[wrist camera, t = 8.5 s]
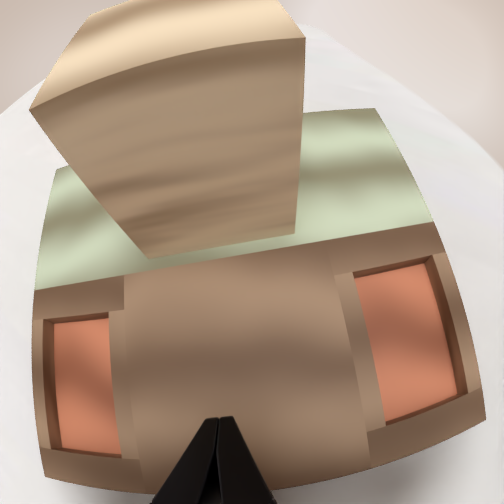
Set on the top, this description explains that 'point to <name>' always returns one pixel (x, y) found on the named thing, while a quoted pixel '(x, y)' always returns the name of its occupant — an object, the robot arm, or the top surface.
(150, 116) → the birch block
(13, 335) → the top surface
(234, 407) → the lane board
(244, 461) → the robot arm
